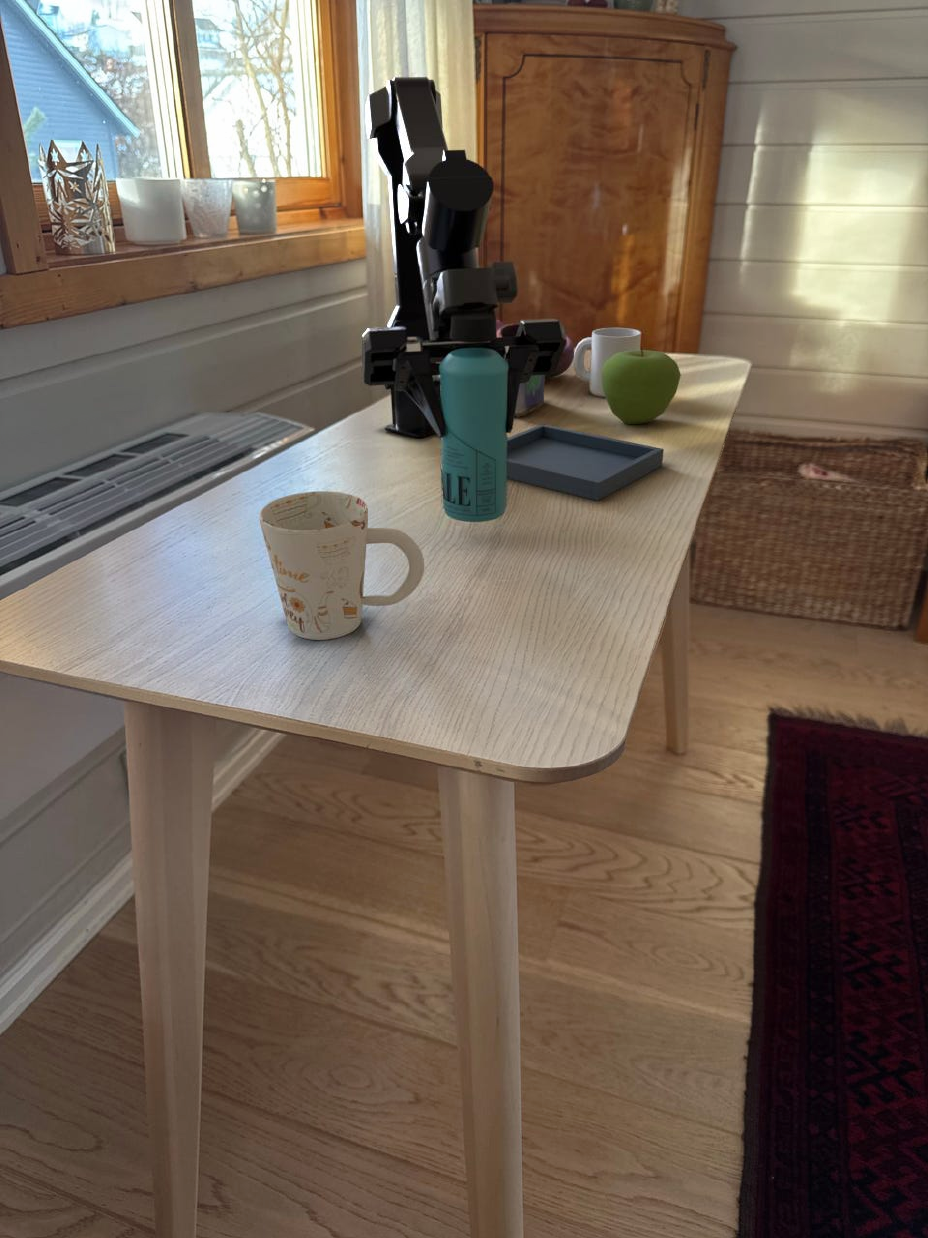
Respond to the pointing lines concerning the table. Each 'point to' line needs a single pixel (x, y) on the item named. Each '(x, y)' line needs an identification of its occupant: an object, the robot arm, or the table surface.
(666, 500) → the table surface
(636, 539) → the table surface
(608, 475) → the tray
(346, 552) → the mug
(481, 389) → the beverage bottle
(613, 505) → the table surface
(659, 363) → the apple
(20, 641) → the table surface
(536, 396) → the flask
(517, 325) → the bowl
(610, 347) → the cup
